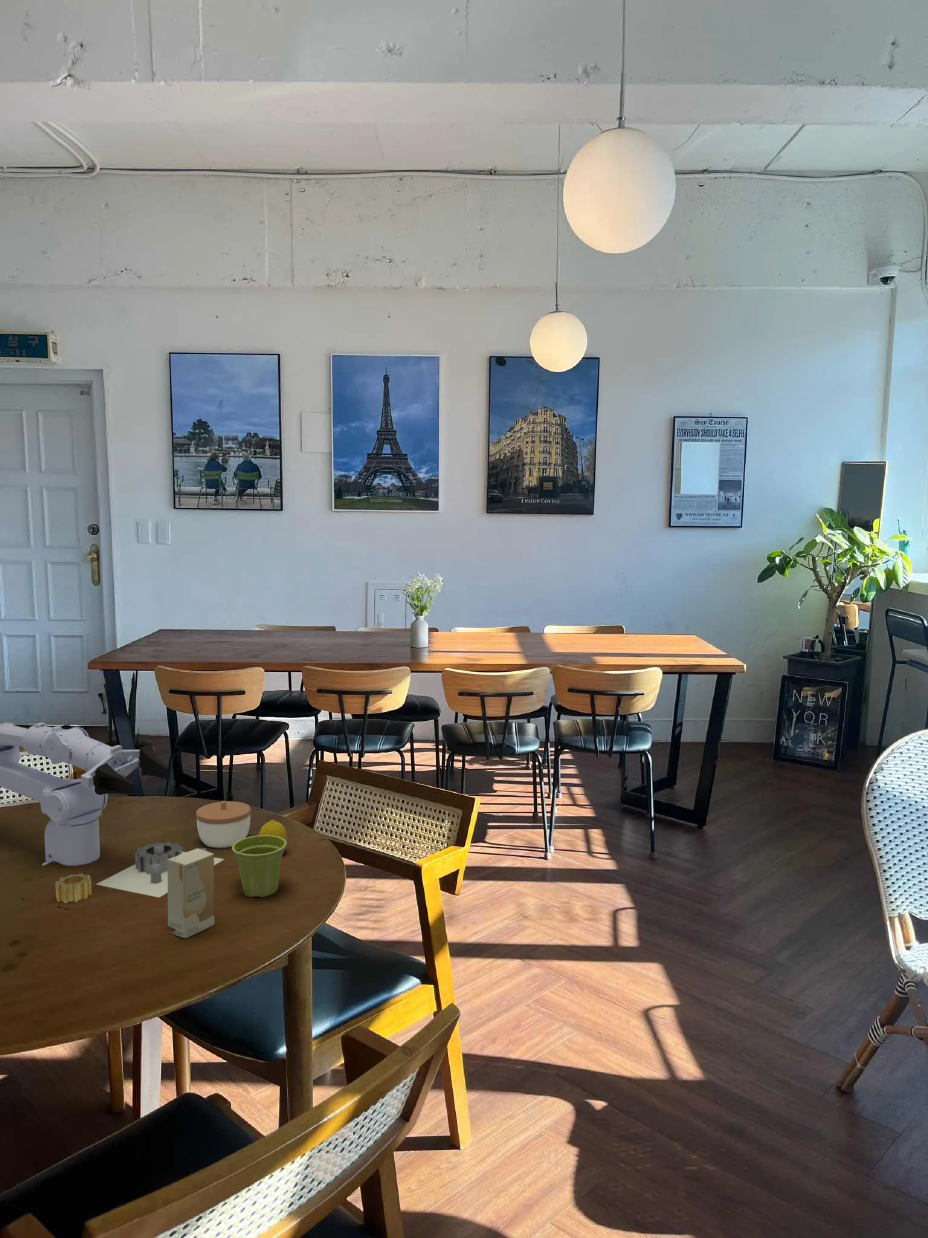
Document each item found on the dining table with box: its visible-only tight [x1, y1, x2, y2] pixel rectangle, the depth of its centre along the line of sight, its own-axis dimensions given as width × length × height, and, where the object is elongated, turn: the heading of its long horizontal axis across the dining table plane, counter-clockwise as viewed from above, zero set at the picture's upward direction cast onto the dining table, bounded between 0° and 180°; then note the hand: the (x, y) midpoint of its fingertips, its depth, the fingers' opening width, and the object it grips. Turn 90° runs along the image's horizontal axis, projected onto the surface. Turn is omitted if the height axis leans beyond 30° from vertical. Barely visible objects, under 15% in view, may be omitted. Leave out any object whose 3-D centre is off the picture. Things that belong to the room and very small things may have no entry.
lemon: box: [258, 819, 288, 851], centre depth 163 cm, size 6×6×8 cm
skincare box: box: [167, 848, 215, 939], centre depth 135 cm, size 6×4×12 cm
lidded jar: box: [195, 800, 252, 849], centre depth 170 cm, size 11×11×9 cm
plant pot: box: [231, 834, 287, 898], centre depth 149 cm, size 9×9×9 cm
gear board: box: [95, 845, 225, 898], centre depth 154 cm, size 14×18×5 cm
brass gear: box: [54, 872, 93, 911], centre depth 144 cm, size 6×6×4 cm
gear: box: [134, 841, 183, 874], centre depth 157 cm, size 8×8×3 cm
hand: (150, 781), depth 149 cm, fingers open, 7 cm apart
